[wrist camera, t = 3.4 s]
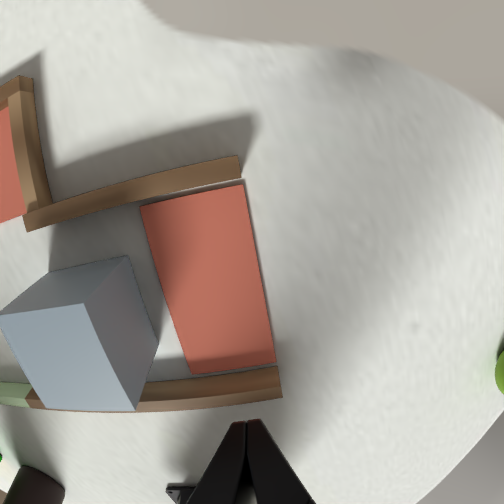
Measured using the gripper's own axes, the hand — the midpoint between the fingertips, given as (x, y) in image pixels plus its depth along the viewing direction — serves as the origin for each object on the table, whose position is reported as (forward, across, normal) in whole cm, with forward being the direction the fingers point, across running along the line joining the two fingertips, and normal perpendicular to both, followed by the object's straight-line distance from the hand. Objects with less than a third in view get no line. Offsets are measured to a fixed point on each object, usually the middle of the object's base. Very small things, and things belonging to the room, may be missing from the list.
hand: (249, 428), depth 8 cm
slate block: (+10, +9, 0) cm, 13 cm away
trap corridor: (+10, +13, -4) cm, 17 cm away
